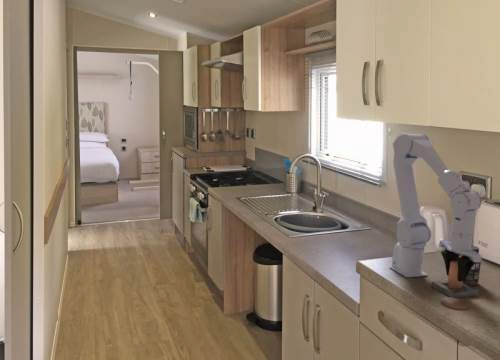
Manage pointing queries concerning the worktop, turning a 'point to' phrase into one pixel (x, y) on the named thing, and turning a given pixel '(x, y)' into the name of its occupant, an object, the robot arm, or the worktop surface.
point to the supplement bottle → (473, 271)
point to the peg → (454, 277)
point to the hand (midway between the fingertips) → (455, 278)
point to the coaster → (454, 303)
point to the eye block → (465, 291)
